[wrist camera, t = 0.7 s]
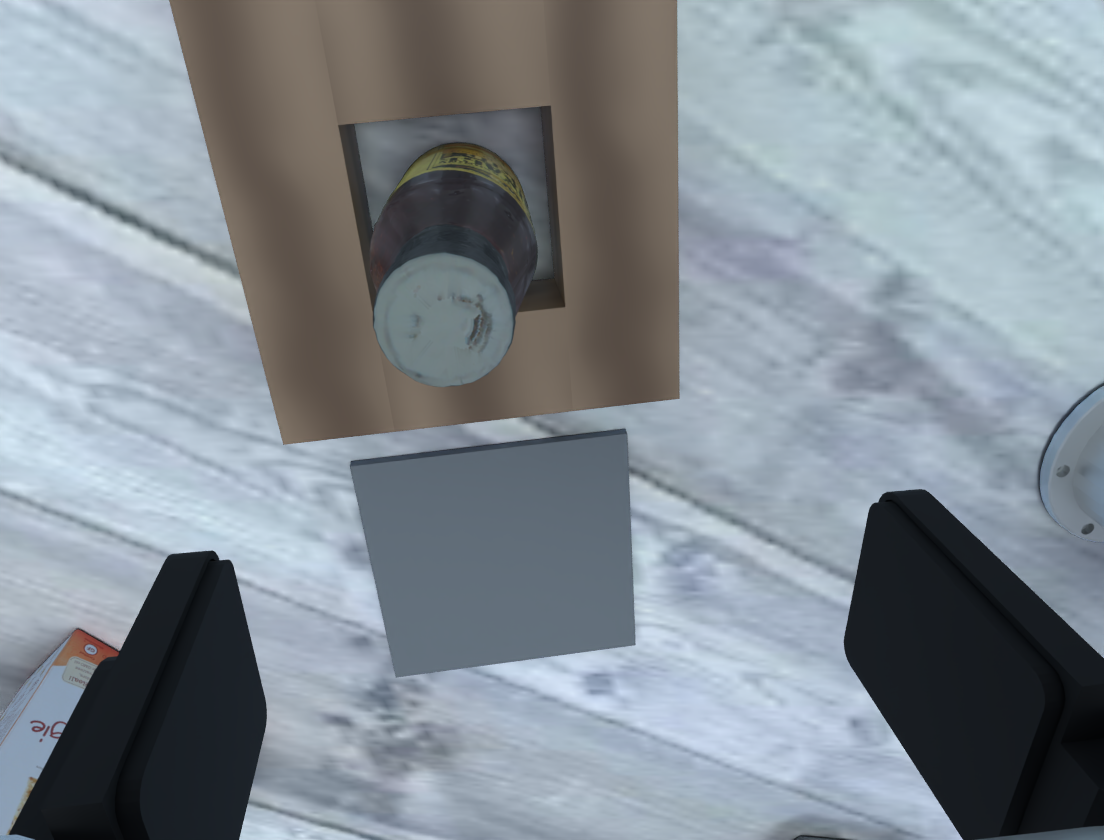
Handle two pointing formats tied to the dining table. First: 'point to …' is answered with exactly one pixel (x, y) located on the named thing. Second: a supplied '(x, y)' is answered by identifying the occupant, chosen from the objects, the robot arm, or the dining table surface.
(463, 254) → the sauce bottle
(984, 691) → the robot arm
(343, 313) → the holder block
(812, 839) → the geometric lantern
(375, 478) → the rubber mat
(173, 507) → the dining table surface
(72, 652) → the cracker box
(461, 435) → the dining table surface
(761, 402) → the dining table surface
